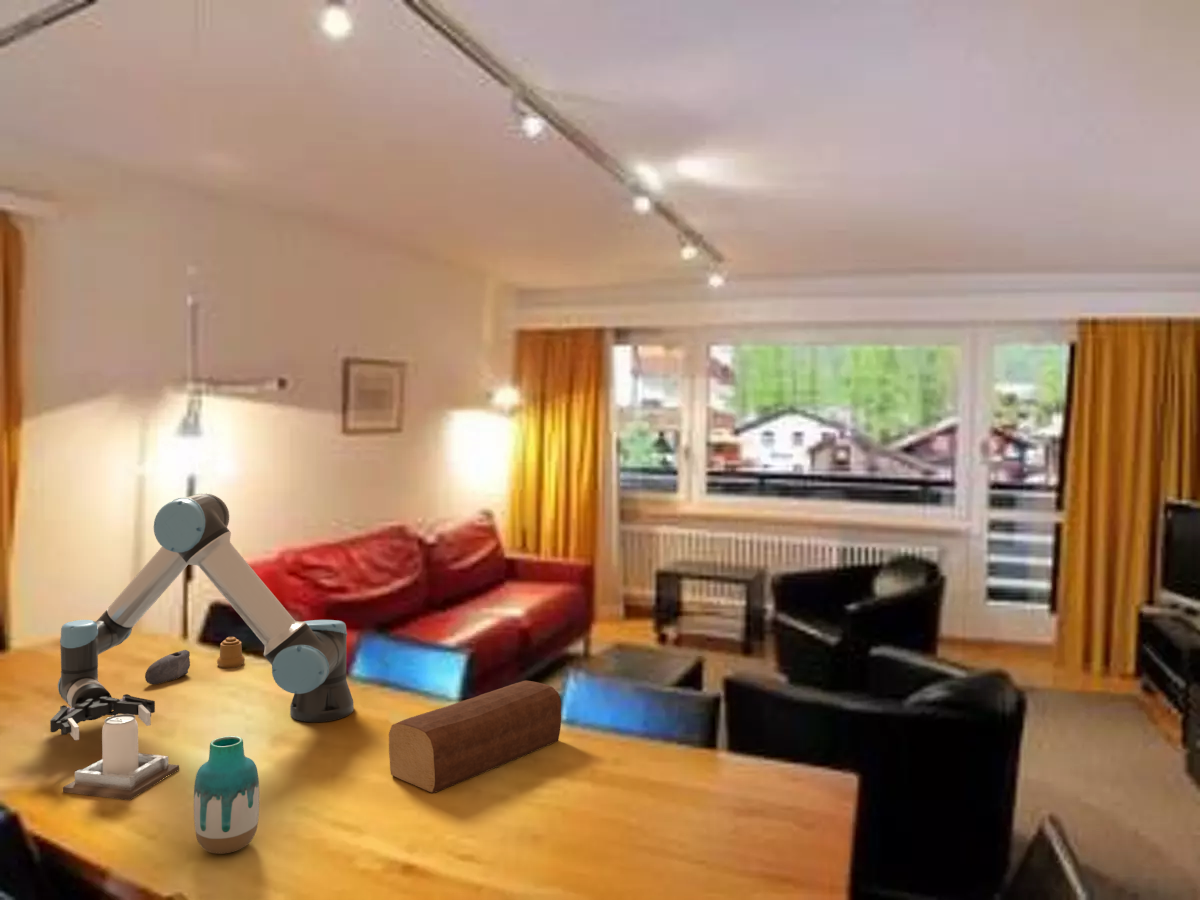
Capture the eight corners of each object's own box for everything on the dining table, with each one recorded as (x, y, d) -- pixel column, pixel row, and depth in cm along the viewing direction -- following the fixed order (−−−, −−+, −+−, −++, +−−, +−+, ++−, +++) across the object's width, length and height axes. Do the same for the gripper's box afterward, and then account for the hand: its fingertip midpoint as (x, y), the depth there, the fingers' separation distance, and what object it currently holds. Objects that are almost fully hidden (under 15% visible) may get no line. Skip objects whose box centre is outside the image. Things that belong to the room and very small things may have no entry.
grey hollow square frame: (168, 767, 193) (168, 756, 193) (130, 790, 182) (130, 778, 182) (115, 762, 196) (115, 750, 195) (74, 784, 184) (74, 771, 184)
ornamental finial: (248, 665, 269) (222, 670, 264) (239, 659, 275) (213, 664, 270) (248, 638, 268) (222, 642, 264) (239, 633, 274) (213, 637, 269)
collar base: (179, 769, 195) (179, 765, 195) (129, 800, 180) (129, 795, 180) (116, 762, 198) (116, 758, 198) (62, 792, 183) (62, 787, 183)
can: (122, 784, 185) (122, 725, 184) (95, 781, 186) (94, 722, 185) (145, 771, 191) (144, 714, 190) (118, 768, 192) (117, 712, 192)
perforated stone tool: (152, 689, 246) (152, 663, 246) (138, 686, 248) (137, 661, 248) (196, 674, 260) (196, 650, 260) (183, 671, 262) (182, 647, 262)
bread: (563, 742, 214) (564, 686, 214) (434, 797, 184) (434, 731, 183) (515, 727, 224) (516, 672, 223) (385, 776, 194) (385, 713, 193)
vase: (206, 834, 167) (205, 730, 166) (266, 833, 168) (266, 729, 166) (184, 864, 156) (183, 753, 155) (249, 862, 157) (248, 752, 156)
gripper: (149, 704, 217) (176, 730, 201) (25, 728, 201) (45, 758, 185) (148, 673, 217) (176, 696, 201) (25, 694, 201) (44, 721, 185)
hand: (113, 726), depth 193 cm, fingers open, 13 cm apart
